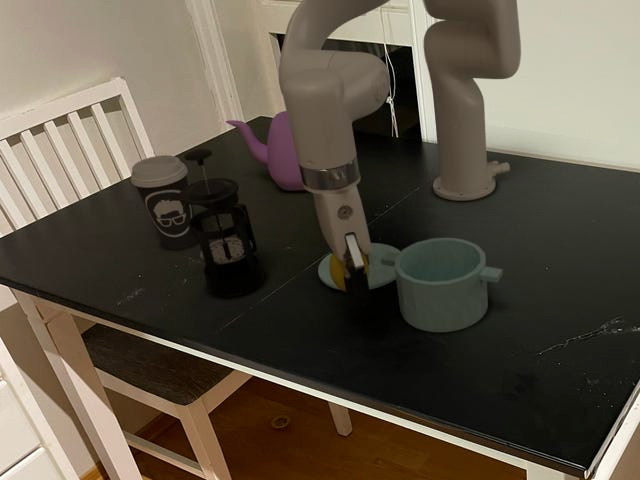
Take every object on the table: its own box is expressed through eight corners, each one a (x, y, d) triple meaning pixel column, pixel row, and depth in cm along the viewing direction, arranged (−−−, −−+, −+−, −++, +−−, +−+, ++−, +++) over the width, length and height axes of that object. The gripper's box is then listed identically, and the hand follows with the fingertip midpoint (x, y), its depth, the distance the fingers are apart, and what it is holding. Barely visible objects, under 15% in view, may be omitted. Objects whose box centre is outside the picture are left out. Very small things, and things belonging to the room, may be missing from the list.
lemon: (365, 304, 105) (356, 256, 100) (329, 302, 106) (318, 254, 101) (377, 283, 109) (369, 236, 104) (342, 281, 110) (332, 234, 105)
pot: (407, 276, 123) (402, 230, 118) (515, 293, 117) (514, 246, 112) (370, 320, 113) (362, 273, 108) (486, 342, 108) (483, 293, 102)
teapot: (349, 151, 167) (338, 84, 158) (352, 190, 150) (340, 118, 141) (247, 162, 165) (230, 95, 155) (239, 203, 148) (219, 130, 139)
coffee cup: (218, 233, 139) (196, 157, 129) (183, 257, 132) (156, 179, 123) (180, 225, 142) (155, 150, 133) (143, 248, 135) (114, 171, 126)
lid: (345, 244, 133) (339, 212, 129) (420, 255, 128) (416, 223, 125) (302, 286, 122) (295, 253, 118) (382, 300, 118) (377, 267, 114)
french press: (241, 304, 119) (201, 169, 105) (193, 295, 122) (148, 163, 107) (280, 267, 127) (248, 138, 113) (235, 260, 130) (198, 133, 116)
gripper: (378, 190, 90) (396, 310, 102) (339, 142, 103) (359, 253, 114) (319, 204, 88) (344, 325, 100) (286, 153, 101) (312, 266, 112)
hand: (352, 286), depth 107 cm, fingers closed on lemon, 5 cm apart
